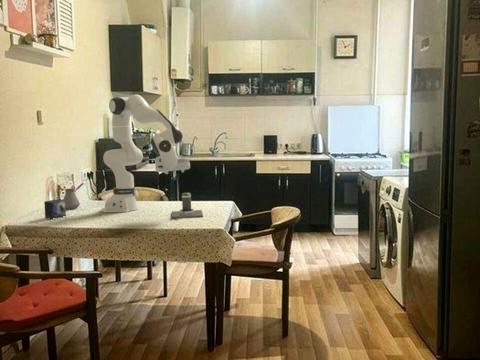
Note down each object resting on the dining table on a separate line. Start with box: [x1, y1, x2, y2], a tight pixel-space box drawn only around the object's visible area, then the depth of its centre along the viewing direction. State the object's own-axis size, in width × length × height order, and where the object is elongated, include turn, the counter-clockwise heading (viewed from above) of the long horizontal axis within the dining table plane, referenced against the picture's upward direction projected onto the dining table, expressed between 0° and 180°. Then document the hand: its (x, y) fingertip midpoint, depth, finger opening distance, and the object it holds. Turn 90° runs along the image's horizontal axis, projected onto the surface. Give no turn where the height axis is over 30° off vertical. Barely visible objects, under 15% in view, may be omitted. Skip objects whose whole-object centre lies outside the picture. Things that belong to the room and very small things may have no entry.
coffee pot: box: [62, 182, 86, 210], centre depth 323 cm, size 21×12×15 cm, turn 162°
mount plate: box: [171, 208, 204, 220], centre depth 289 cm, size 18×16×3 cm
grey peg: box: [181, 192, 192, 211], centre depth 288 cm, size 5×5×12 cm
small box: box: [43, 198, 67, 220], centre depth 291 cm, size 11×6×10 cm, turn 148°
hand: (174, 172), depth 292 cm, fingers open, 8 cm apart
